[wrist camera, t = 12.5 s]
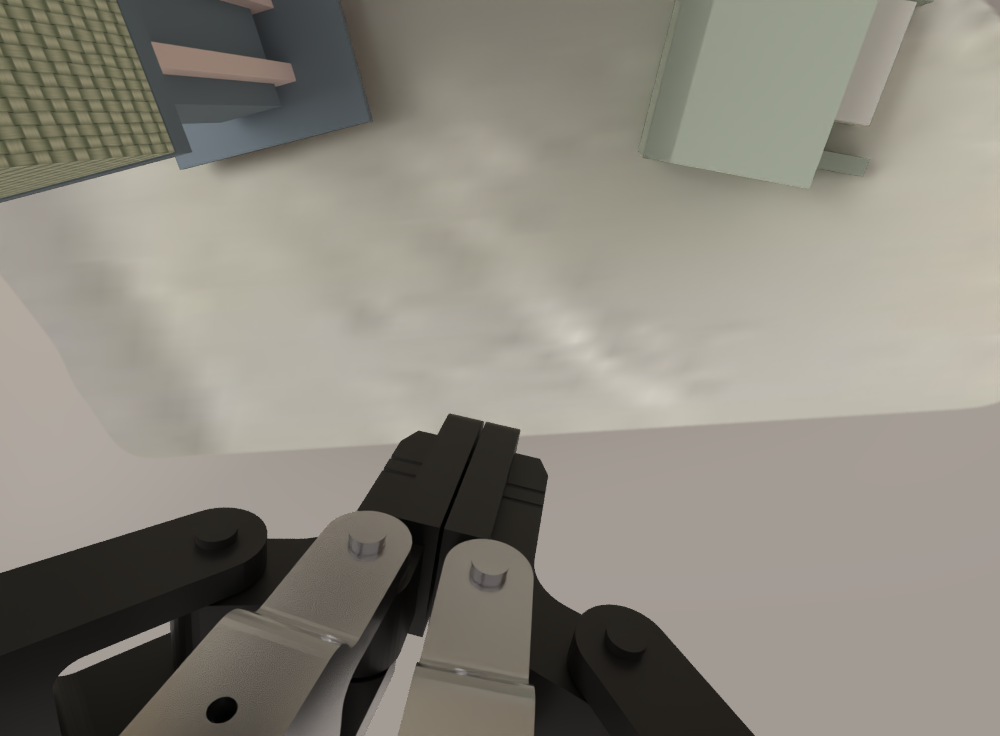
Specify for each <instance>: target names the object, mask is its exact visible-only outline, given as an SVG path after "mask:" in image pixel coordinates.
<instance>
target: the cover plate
mask: <svg viewBox="0 0 1000 736" xmlns="http://www.w3.org/2000/svg"><path fill="white" fill-rule="evenodd" d="M916 4H917V2H913V1H907V0H879V1H878V3H877V6H876V9H875V12H874V14H873V17H872V20H871V22H870V25H869V28H868V31H867V33H866V36H865V39H864V42H863V44H862V47H861V50H860V52H859V55H858V58H857V61H856V63H855V66H854V69H853V71H852V74H851V77H850V80H849V82H848V85H847V88H846V90H845V93H844V96H843V99H842V101H841V104H840V107H839V110H838V112H837V115H836V118H835V120H834V122H837V123H843V124H849V125H862V126H869V125H870V122H871V120H872V117H873V115H874V112H875V110H876V107H877V104H878V102H879V99H880V97H881V94H882V91H883V89H884V86H885V84H886V81H887V79H888V76H889V73H890V71H891V68H892V66H893V63H894V61H895V58H896V55H897V53H898V50H899V48H900V45H901V42H902V40H903V37H904V35H905V32H906V30H907V27H908V24H909V22H910V19H911V17H912V14H913V12H914V9H915V6H916Z"/></svg>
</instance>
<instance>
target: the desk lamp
mask: <svg viewBox="0 0 1000 736" xmlns="http://www.w3.org/2000/svg"><path fill="white" fill-rule="evenodd" d="M370 121H373V120H372V117H371V113H370V110H369V106H368V102H367V99H366V95H365V91H364V88H363V84H362V80H361V77H360V73H359V69H358V66H357V62H356V58H355V55H354V51H353V47H352V44H351V40H350V37H349V33H348V29H347V26H346V22H345V18H344V15H343V11H342V7H341V4H340V0H0V203H1V202H5V201H9V200H13V199H16V198H20V197H24V196H28V195H32V194H35V193H39V192H43V191H47V190H51V189H54V188H58V187H62V186H66V185H70V184H73V183H77V182H81V181H85V180H89V179H93V178H96V177H100V176H104V175H108V174H112V173H115V172H119V171H123V170H127V169H131V168H134V167H138V166H142V165H146V164H150V163H153V162H157V161H161V160H165V159H169V158H172V157H175V158H176V161H177V163H178V166H179V168H180V170H181V169H187V168H191V167H195V166H199V165H203V164H206V163H210V162H214V161H218V160H222V159H226V158H230V157H234V156H238V155H242V154H245V153H249V152H253V151H257V150H261V149H265V148H269V147H273V146H277V145H281V144H285V143H288V142H292V141H296V140H300V139H304V138H308V137H312V136H316V135H320V134H324V133H327V132H331V131H335V130H339V129H343V128H347V127H351V126H355V125H359V124H363V123H367V122H370Z"/></svg>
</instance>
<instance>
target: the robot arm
mask: <svg viewBox="0 0 1000 736" xmlns="http://www.w3.org/2000/svg"><path fill="white" fill-rule="evenodd" d="M483 426H484V428H483ZM519 435H520V429H516V428H511V427H507V426H503V425H498V424H494V423H490V422H486V423H485V425H484V422H483V421H480V420H476V419H472V418H467V417H463V416H459V415H454V414H448V416H447V418H446V420H445V422H444V424H443V426H442V427H441V429H440V431H439V433H438V435H435V434H431V433H426V432H422V431H417V432H416V433H414V434H412V435H410V436H409V437H407V438H405V439H403V440H402V441H401V442H400V443H399V445H398V446H397V448H396V450H395V451H394V453H393V454H392V457H391V459H389V461H388V462H387V464H386V466H385V467H384V470H383V471H382V472H381V474H380V475H379V477H378V478H377V480H376V481H375V483H374V485H373V486H372V488H371V490H370V491H369V493H368V494H367V496H366V497H365V499H364V501H363V502H362V504H361V505H360V507H359V509H358V510H357V512H352V513H348V514H345V515H342V516H340V517H338V518H336V519H335V520H333V521H332V522H331V523H330V524H329V525H328V526H327V527H326V528H325V529H324V530H323V532H322V533H321V534H320V535H319V536H318V537H315V538H308V539H267V529H266V526H265V524H264V522H263V521H262V520H261V519H260V518H259V517H258V516H256V515H255V514H253V513H251V512H249V511H246V510H242V509H237V508H214V509H208V510H204V511H200V512H197V513H194V514H190V515H187V516H184V517H180V518H177V519H174V520H171V521H167V522H165V523H161V524H158V525H155V526H151V527H148V528H145V529H142V530H138V531H135V532H132V533H129V534H125V535H122V536H119V537H116V538H113V539H110V540H106V541H103V542H100V543H96V544H93V545H90V546H87V547H83V548H80V549H77V550H74V551H70V552H67V553H64V554H61V555H57V556H54V557H51V558H48V559H44V560H41V561H38V562H35V563H32V564H28V565H25V566H22V567H19V568H15V569H12V570H9V571H6V572H2V573H0V736H364V735H365V733H366V731H367V729H368V726H369V724H370V722H371V720H372V718H373V716H374V714H375V712H376V710H377V708H378V706H379V703H380V701H381V699H382V697H383V695H384V693H385V691H386V689H387V687H388V685H389V682H390V680H391V678H392V676H393V673H394V670H395V663H396V659H397V658H398V656H399V654H400V652H401V649H402V646H403V643H404V641H405V638H406V636H407V633H409V634H413V635H416V636H420V637H423V634H424V631H425V628H426V625H427V622H428V620H429V624H428V630H427V634H426V638H425V642H424V646H423V650H422V654H421V658H420V661H419V662H417V664H416V667H415V670H414V674H413V677H412V681H411V685H410V689H409V693H408V697H407V701H406V705H405V709H404V713H403V717H402V720H401V724H400V729H399V732H398V736H755V735H754V734H753V733H752V732H751V731H750V730H749V729H748V727H747V726H746V725H745V724H744V723H743V722H742V721H741V720H740V718H739V717H738V716H737V715H736V714H735V713H734V712H733V710H732V709H731V708H730V707H729V706H728V705H727V704H726V702H724V700H723V699H722V698H721V697H720V696H719V695H718V693H716V691H715V690H714V689H713V688H712V687H711V685H710V684H709V683H708V682H707V681H706V680H705V679H704V678H703V676H702V675H701V674H700V673H699V672H698V671H697V670H696V669H695V668H694V667H693V665H692V664H691V663H690V662H689V661H688V659H686V657H685V656H684V655H683V654H682V653H681V652H680V651H679V649H678V648H677V647H676V646H675V645H674V644H673V643H672V642H671V640H670V639H669V638H668V637H667V636H666V635H665V634H664V632H663V631H662V630H661V629H660V628H659V627H658V626H657V625H656V624H655V623H654V622H653V621H651V620H650V619H649V618H647V617H645V616H644V615H642V614H641V613H639V612H637V611H634V610H632V609H630V608H627V607H623V606H618V605H600V606H595V607H593V608H591V609H588V610H587V611H586V612H585V613H583V614H582V615H581V614H579V613H577V612H576V611H574V610H572V609H570V608H568V607H566V606H565V605H563V604H561V603H560V602H558V601H557V600H555V599H554V598H553V597H552V596H550V594H549V593H548V592H547V591H546V590H545V589H544V588H543V587H542V585H541V584H540V582H539V580H538V579H537V576H536V573H535V569H534V559H535V553H536V546H537V541H538V534H539V527H540V522H541V516H542V509H543V504H544V497H545V491H546V485H547V479H548V475H547V472H546V470H545V468H544V466H543V464H542V462H541V460H540V459H538V458H533V457H530V456H525V455H521V454H517V453H516V449H517V444H518V440H519ZM429 617H430V618H429ZM169 621H170V630H171V632H170V633H168V634H166V635H163V636H161V637H159V638H156V639H154V640H152V641H149V642H147V643H144V644H142V645H140V646H137V647H135V648H133V649H130V650H128V651H125V652H123V653H121V654H118V655H116V656H114V657H111V658H109V659H106V660H104V661H102V662H99V663H97V664H95V665H92V666H90V667H88V668H85V669H83V670H80V671H78V672H76V673H73V674H70V675H66V676H58V675H59V674H60V673H61V672H62V671H63V670H64V669H65V668H66V667H67V666H68V665H70V664H71V663H73V662H74V661H76V660H78V659H80V658H82V657H84V656H86V655H89V654H91V653H94V652H96V651H98V650H101V649H103V648H106V647H108V646H111V645H113V644H116V643H118V642H120V641H123V640H125V639H128V638H130V637H133V636H135V635H137V634H140V633H142V632H145V631H147V630H149V629H152V628H155V627H157V626H159V625H162V624H164V623H167V622H169Z"/></svg>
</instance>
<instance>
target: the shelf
mask: <svg viewBox="0 0 1000 736" xmlns="http://www.w3.org/2000/svg"><path fill="white" fill-rule="evenodd" d="M878 1H879V0H676V1H675V5H674V9H673V13H672V17H671V21H670V25H669V29H668V33H667V37H666V41H665V45H664V49H663V53H662V57H661V61H660V65H659V69H658V73H657V77H656V81H655V85H654V89H653V93H652V97H651V101H650V105H649V109H648V113H647V117H646V121H645V125H644V129H643V133H642V138H641V142H640V146H639V150H638V152H639V154H640V155H641V156H642V157H643V158H647V159H652V160H658V161H663V162H668V163H673V164H679V165H684V166H689V167H694V168H700V169H705V170H710V171H715V172H721V173H726V174H731V175H737V176H742V177H747V178H752V179H758V180H763V181H768V182H773V183H779V184H784V185H789V186H794V187H800V188H805V189H809V188H810V186H811V183H812V180H813V178H814V175H815V172H816V169H817V168H818V169H823V170H829V171H834V172H839V173H845V174H850V175H855V176H861V177H863V175H864V173H865V170H866V168H867V165H868V163H869V160H870V159H866V158H860V157H855V156H850V155H844V154H839V153H833V152H828V151H823V150H824V148H825V145H826V142H827V139H828V137H829V134H830V131H831V129H832V126H833V123H834V120H835V118H836V115H837V112H838V110H839V107H840V104H841V101H842V99H843V96H844V93H845V90H846V88H847V85H848V82H849V80H850V77H851V74H852V71H853V69H854V66H855V63H856V61H857V58H858V55H859V52H860V50H861V47H862V44H863V42H864V39H865V36H866V33H867V31H868V28H869V25H870V22H871V20H872V17H873V14H874V12H875V9H876V6H877V3H878ZM907 1H913V2H917V4H916V6H922V5H925V4H927V3H930V2H933V0H907Z"/></svg>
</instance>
